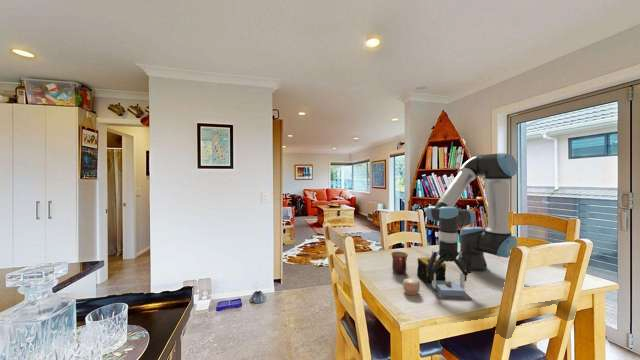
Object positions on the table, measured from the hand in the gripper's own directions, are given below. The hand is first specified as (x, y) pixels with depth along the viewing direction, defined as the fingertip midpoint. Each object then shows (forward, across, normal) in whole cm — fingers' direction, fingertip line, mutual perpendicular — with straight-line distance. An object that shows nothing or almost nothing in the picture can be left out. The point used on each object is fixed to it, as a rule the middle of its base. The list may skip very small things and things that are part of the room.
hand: (447, 287), depth 115 cm
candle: (+2, +3, -13) cm, 14 cm away
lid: (+1, 0, 0) cm, 1 cm away
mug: (+2, +17, -20) cm, 26 cm away
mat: (+2, 0, 0) cm, 2 cm away
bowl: (+2, +17, +2) cm, 17 cm away
